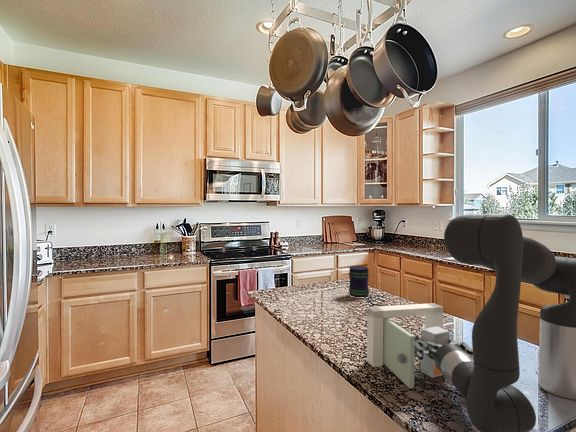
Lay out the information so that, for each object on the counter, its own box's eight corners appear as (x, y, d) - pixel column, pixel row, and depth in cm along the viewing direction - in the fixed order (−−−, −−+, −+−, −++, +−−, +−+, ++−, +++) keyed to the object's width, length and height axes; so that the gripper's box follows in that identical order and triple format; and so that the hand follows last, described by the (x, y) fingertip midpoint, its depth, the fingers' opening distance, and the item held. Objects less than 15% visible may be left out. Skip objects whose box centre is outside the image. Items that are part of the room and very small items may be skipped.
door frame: (433, 354, 102) (434, 303, 101) (442, 360, 98) (443, 306, 98) (366, 360, 97) (367, 307, 97) (373, 367, 93) (373, 311, 93)
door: (414, 387, 82) (415, 336, 82) (403, 389, 81) (404, 337, 81) (383, 359, 97) (384, 316, 97) (374, 360, 96) (375, 316, 96)
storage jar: (366, 300, 162) (366, 269, 161) (346, 297, 166) (347, 268, 166) (370, 295, 171) (370, 266, 170) (351, 293, 175) (352, 265, 175)
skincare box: (432, 378, 87) (433, 334, 87) (420, 371, 91) (421, 328, 91) (448, 374, 90) (450, 330, 89) (436, 367, 94) (437, 325, 93)
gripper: (490, 352, 76) (457, 326, 92) (426, 350, 76) (405, 325, 93) (489, 384, 76) (457, 353, 92) (426, 382, 77) (405, 351, 93)
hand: (431, 339), depth 92 cm, fingers open, 7 cm apart
